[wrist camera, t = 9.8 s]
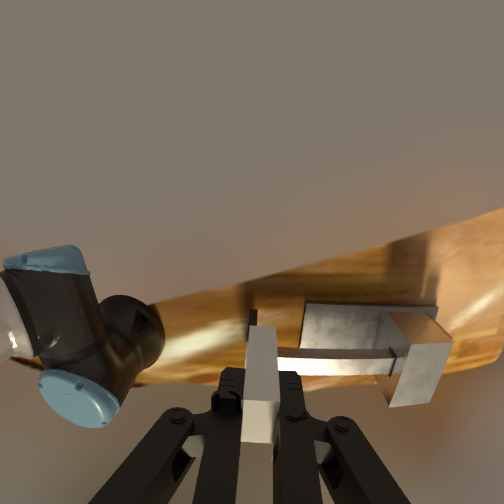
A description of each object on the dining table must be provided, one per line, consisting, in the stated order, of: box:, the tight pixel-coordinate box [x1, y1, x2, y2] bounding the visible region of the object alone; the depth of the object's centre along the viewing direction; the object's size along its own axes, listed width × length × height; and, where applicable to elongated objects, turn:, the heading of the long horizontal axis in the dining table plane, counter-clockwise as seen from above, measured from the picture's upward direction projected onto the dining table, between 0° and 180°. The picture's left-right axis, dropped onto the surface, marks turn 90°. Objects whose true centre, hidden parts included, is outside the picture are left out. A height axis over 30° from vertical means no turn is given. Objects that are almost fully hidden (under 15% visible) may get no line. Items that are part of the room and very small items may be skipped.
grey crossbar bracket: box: [245, 309, 397, 375], centre depth 45 cm, size 27×12×10 cm, turn 86°
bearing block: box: [299, 301, 453, 407], centre depth 47 cm, size 26×13×13 cm, turn 86°
